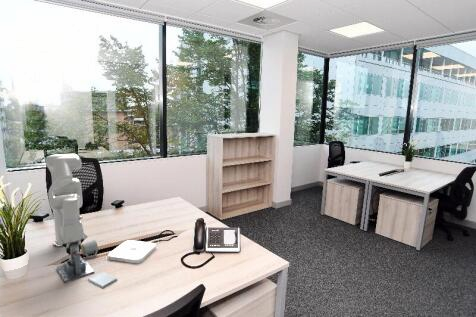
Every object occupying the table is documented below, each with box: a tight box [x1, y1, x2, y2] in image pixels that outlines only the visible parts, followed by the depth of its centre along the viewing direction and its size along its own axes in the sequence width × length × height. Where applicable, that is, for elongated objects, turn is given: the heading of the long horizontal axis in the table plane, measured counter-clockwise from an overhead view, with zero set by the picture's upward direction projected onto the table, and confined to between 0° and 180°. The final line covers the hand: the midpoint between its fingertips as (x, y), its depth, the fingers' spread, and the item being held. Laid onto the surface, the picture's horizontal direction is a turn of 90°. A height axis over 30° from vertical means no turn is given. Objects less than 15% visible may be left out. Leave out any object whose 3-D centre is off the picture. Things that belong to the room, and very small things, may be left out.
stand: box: [56, 252, 95, 284], centre depth 151 cm, size 18×14×12 cm
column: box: [68, 241, 80, 266], centre depth 150 cm, size 6×4×15 cm, turn 44°
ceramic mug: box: [80, 239, 99, 259], centre depth 169 cm, size 11×8×8 cm
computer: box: [107, 239, 157, 264], centre depth 173 cm, size 22×22×3 cm
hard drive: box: [87, 271, 118, 289], centre depth 144 cm, size 2×8×12 cm
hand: (73, 252), depth 150 cm, fingers closed on column, 4 cm apart
